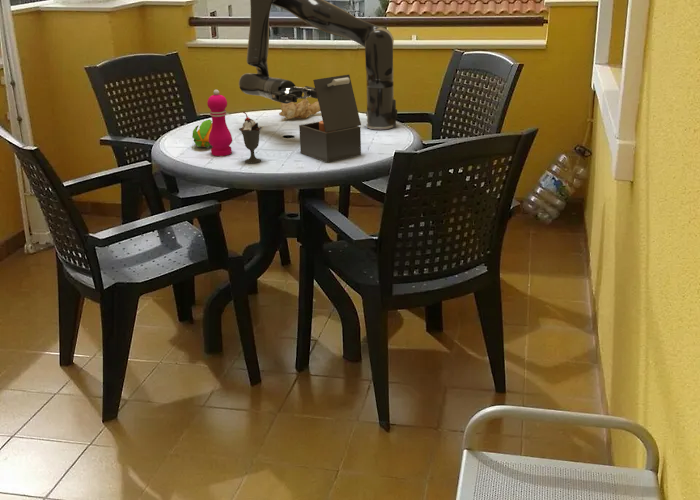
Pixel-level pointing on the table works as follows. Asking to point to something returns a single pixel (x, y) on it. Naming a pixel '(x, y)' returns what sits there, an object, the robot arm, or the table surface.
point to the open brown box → (329, 142)
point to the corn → (202, 134)
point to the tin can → (322, 127)
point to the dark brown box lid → (337, 102)
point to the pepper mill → (219, 126)
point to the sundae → (251, 137)
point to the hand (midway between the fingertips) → (307, 97)
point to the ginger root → (299, 109)
